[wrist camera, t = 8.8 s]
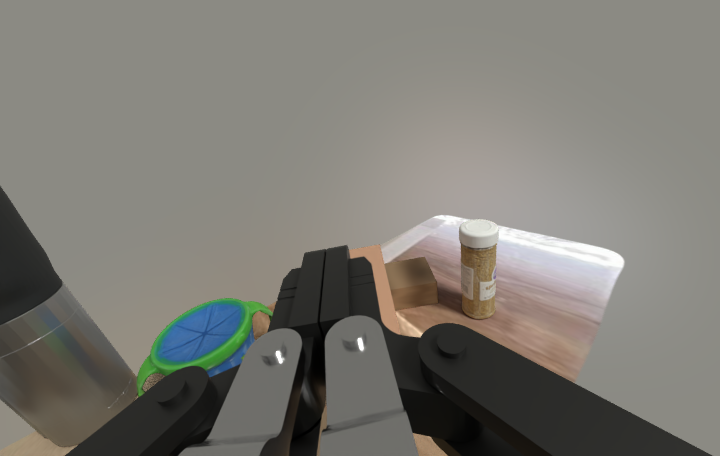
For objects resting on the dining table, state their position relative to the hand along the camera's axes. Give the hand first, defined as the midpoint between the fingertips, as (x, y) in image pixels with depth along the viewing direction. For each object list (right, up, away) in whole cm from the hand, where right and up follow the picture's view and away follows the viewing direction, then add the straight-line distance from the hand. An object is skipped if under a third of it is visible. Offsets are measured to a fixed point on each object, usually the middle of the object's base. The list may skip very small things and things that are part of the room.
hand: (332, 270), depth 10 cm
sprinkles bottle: (+18, -10, +31) cm, 38 cm away
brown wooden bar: (+4, -10, +37) cm, 39 cm away
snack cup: (-15, -19, +27) cm, 36 cm away
